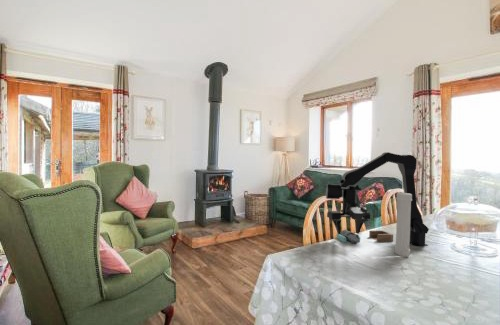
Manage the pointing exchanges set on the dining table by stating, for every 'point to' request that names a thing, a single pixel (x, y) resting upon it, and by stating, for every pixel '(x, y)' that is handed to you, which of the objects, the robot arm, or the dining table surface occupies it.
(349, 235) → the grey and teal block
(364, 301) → the dining table surface
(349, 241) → the cradle
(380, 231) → the brown block
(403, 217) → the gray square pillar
